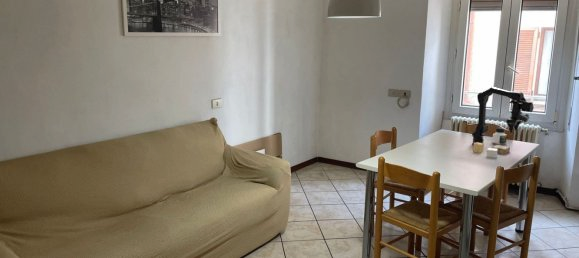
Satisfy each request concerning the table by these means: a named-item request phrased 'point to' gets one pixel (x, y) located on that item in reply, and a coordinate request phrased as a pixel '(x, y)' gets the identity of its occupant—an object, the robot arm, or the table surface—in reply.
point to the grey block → (492, 152)
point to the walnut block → (502, 149)
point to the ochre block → (478, 147)
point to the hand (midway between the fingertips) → (513, 131)
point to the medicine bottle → (499, 136)
